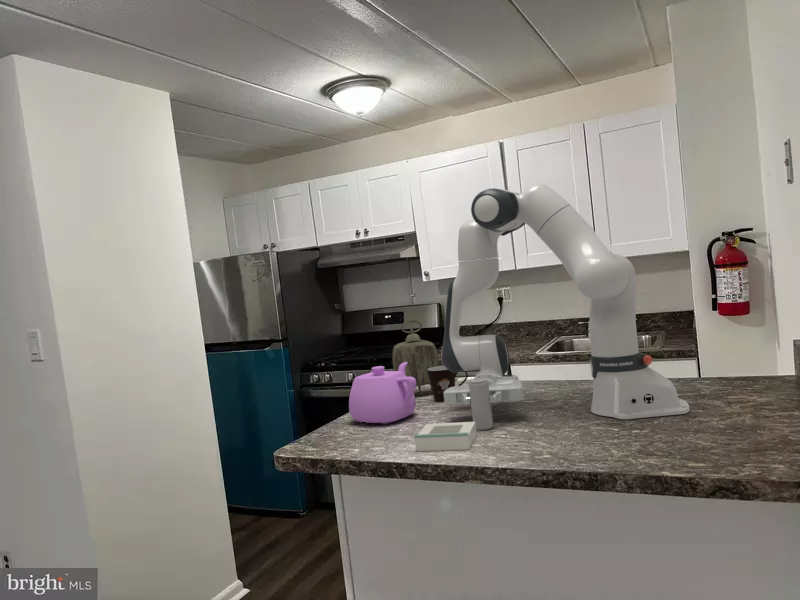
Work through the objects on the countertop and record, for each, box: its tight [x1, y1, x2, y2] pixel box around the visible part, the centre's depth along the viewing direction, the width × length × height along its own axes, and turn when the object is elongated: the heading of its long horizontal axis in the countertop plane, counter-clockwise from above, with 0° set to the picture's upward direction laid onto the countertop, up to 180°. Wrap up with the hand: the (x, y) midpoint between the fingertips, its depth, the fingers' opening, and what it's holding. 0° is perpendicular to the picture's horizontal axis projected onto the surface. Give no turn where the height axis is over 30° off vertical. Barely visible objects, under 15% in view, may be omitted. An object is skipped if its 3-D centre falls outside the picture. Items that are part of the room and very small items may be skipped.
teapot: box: [348, 362, 417, 425], centre depth 166 cm, size 23×21×15 cm
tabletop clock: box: [392, 319, 440, 397], centre depth 193 cm, size 14×9×25 cm, turn 98°
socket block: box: [414, 421, 478, 452], centre depth 134 cm, size 12×12×4 cm
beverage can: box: [468, 378, 494, 431], centre depth 143 cm, size 5×5×12 cm
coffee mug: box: [428, 365, 469, 403], centre depth 181 cm, size 12×9×10 cm
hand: (479, 400), depth 142 cm, fingers closed on beverage can, 5 cm apart
